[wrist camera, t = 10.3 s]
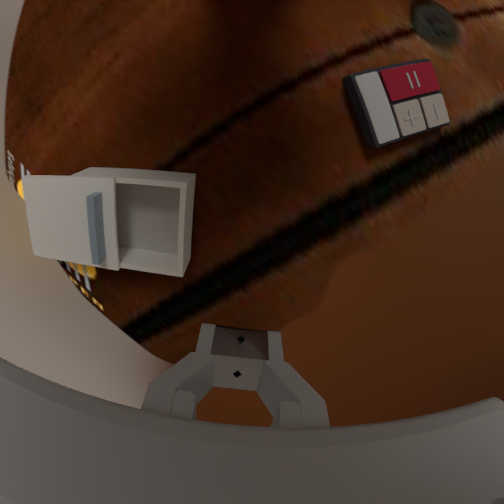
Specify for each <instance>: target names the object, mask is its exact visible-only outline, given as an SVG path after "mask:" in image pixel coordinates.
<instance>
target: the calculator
mask: <svg viewBox="0 0 504 504" xmlns="http://www.w3.org/2000/svg"><path fill="white" fill-rule="evenodd" d="M343 82H344V85H345V87H346V90H347V92H348V95H349V97H350V100H351V102H352V105H353V107H354V110H355V113H356V115H357V118H358V121H359V124H360V127H361V129H362V132H363V135H364V138H365V141H366V144H367V145H369V146H373V147H377V148H379V147H382V146H385V145H387V144H390V143H393V142H396V141H399V140H402V139H405V138H408V137H411V136H414V135H417V134H420V133H423V132H427V131H430V130H433V129H436V128H439V127H443V126H446V125H449V123H450V121H449V117H448V113H447V110H446V106H445V102H444V99H443V96H442V93H441V89H440V86H439V83H438V80H437V77H436V74H435V72H434V69H433V66H432V63H431V61H430V60H429V59H421V60H415V61H409V62H403V63H398V64H393V65H388V66H383V67H379V68H374V69H370V70H365V71H361V72H357V73H353V74H350V75H348V76H345V77H343Z"/></svg>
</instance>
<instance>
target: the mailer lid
mask: <svg viewBox="0 0 504 504" xmlns="http://www.w3.org/2000/svg"><path fill="white" fill-rule="evenodd" d="M23 181H24V193H25V203H26V211H27V219H28V225H29V232H30V237H31V243H32V248H33V253H34V255H36V256H41V257H46V258H51V259H56V260H61V261H67V262H72V263H77V264H83V265H88V266H94V267H100V268H105V269H111V270H117V271H119V269H120V264H119V253H118V240H117V222H116V178H113V177H91V176H53V175H25V176H23Z"/></svg>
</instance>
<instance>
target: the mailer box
mask: <svg viewBox="0 0 504 504" xmlns="http://www.w3.org/2000/svg"><path fill="white" fill-rule="evenodd" d="M71 176H91V177H113V178H116V222H117V240H118V253H119V264H120V268H125V269H131V270H138V271H144V272H151V273H157V274H164V275H171V276H178V277H183V275H184V273H185V270H186V268H187V266H188V263H189V261H190V259H191V240H192V222H193V207H194V193H195V181H196V174H195V173H184V172H173V171H160V170H145V169H128V168H104V167H90V168H87V169H85V170H83V171H80V172H78V173H75V174H73V175H71Z"/></svg>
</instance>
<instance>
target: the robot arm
mask: <svg viewBox="0 0 504 504" xmlns="http://www.w3.org/2000/svg"><path fill="white" fill-rule="evenodd" d="M213 387H223V388H235V389H243V390H251V391H257V393H258V395H259V396H260V398H261V399H262V401H263V402H264V404H265V405H266V407H267V408H268V410H269V411H270V413H271V414H272V416H273V417H274V419H273V421H272V424H271V426H270V427H256V426H243V425H231V424H222V423H214V422H206V421H199V420H196V405H197V404H198V403H199V402H200V401H201V399H202V398H203V397H204V396H205V395H206V394H207V393H208V392H209V391H210V390H211V389H212V388H213ZM0 504H504V402H503V401H501V400H500V399H498V398H495V397H492V398H488V399H485V400H482V401H479V402H476V403H472V404H469V405H465V406H462V407H458V408H454V409H451V410H446V411H442V412H438V413H433V414H429V415H424V416H419V417H414V418H408V419H402V420H396V421H389V422H381V423H373V424H364V425H352V426H339V427H330V424H329V419H328V413H327V408H326V403H325V400H324V399H323V398H322V397H321V396H320V395H319V394H318V393H317V392H316V391H315V390H314V389H313V388H312V387H311V386H310V385H309V384H308V383H307V382H306V381H305V380H304V379H303V378H302V377H301V376H300V375H299V374H298V373H297V372H296V370H294V368H293V367H292V366H291V365H290V364H289V363H288V362H284V357H283V348H282V339H281V333H280V332H279V331H263V330H253V329H243V328H235V327H228V326H221V325H213V324H207V323H202V325H201V329H200V334H199V338H198V343H197V347H196V352H191V353H189V354H188V355H187V356H185V357H184V358H183V359H181V360H180V361H179V362H177V363H176V364H175V365H173V366H172V367H171V368H169V369H168V370H167V371H165V372H164V373H163V374H161V375H160V376H159V377H157V378H156V379H154V380H153V381H152V382H150V383H149V386H148V389H147V392H146V395H145V398H144V401H143V405H142V407H141V409H137V408H133V407H129V406H125V405H122V404H118V403H114V402H111V401H107V400H104V399H101V398H97V397H94V396H91V395H88V394H85V393H82V392H79V391H76V390H74V389H71V388H68V387H65V386H63V385H60V384H58V383H55V382H52V381H50V380H47V379H45V378H43V377H40V376H38V375H36V374H33V373H31V372H29V371H27V370H24V369H23V368H20V367H18V366H16V365H14V364H12V363H10V362H8V361H6V360H4V359H2V358H0Z"/></svg>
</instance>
